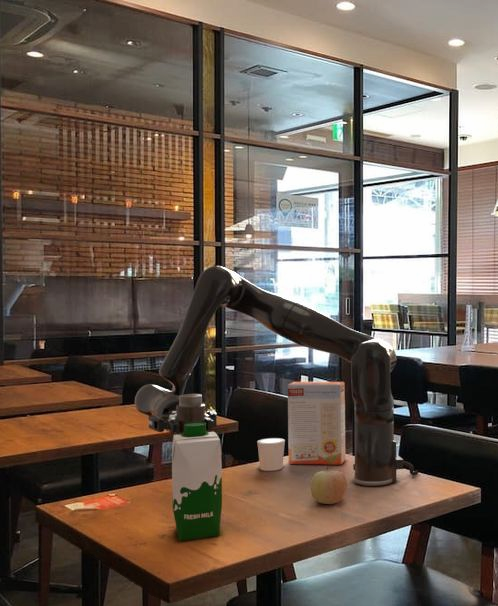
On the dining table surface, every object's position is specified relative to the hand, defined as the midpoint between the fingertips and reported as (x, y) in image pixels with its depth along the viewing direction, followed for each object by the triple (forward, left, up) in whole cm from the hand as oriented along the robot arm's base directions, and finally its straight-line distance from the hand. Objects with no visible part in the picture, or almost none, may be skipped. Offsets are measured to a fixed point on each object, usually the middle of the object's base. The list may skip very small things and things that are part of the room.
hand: (194, 426), depth 141 cm
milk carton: (0, +11, -18) cm, 21 cm away
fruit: (-27, 0, -18) cm, 33 cm away
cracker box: (-30, -35, -18) cm, 49 cm away
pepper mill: (+1, -3, -8) cm, 8 cm away
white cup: (-18, -33, -18) cm, 41 cm away
